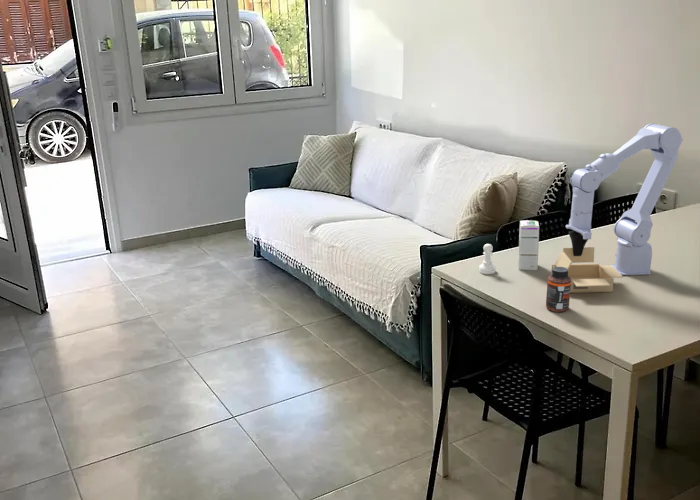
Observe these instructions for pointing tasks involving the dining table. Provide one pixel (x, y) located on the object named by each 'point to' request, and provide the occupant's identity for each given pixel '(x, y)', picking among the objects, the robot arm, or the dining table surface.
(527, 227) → the syrup box
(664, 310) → the dining table surface
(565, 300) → the supplement bottle
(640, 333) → the dining table surface
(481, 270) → the chess pawn
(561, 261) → the flap long
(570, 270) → the carton
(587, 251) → the flap short
